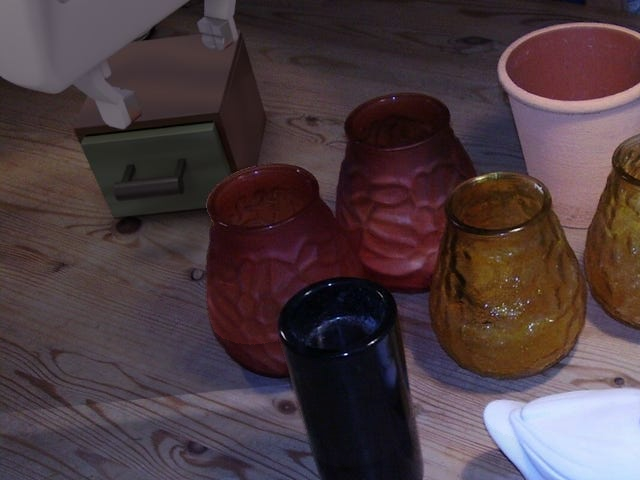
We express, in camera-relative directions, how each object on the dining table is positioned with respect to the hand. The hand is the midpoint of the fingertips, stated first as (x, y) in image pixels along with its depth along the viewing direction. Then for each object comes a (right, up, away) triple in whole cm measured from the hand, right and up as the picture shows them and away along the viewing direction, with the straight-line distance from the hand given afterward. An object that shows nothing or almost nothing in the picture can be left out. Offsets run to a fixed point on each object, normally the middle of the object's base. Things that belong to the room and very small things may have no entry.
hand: (175, 81), depth 61 cm
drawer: (-9, -1, +31) cm, 33 cm away
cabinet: (-9, +2, +35) cm, 36 cm away
